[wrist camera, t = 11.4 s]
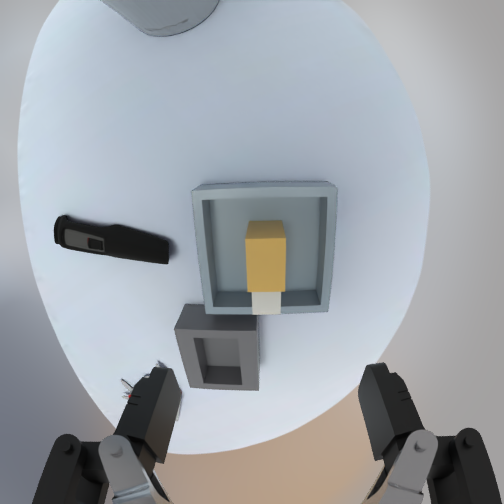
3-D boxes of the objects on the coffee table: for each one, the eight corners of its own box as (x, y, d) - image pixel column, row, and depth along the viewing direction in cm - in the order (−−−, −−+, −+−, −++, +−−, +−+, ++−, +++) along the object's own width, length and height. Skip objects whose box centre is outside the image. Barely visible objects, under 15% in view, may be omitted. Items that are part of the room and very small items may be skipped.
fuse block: (185, 304, 29) (174, 328, 25) (257, 304, 29) (256, 330, 25) (197, 362, 32) (190, 387, 28) (259, 363, 32) (258, 390, 28)
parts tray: (200, 184, 24) (191, 190, 21) (327, 181, 24) (337, 187, 20) (212, 295, 29) (205, 313, 25) (321, 293, 28) (328, 311, 25)
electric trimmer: (175, 265, 28) (166, 279, 25) (63, 241, 27) (48, 251, 24) (178, 232, 27) (168, 242, 24) (61, 212, 26) (45, 219, 23)
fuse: (251, 288, 27) (248, 220, 25) (281, 288, 27) (281, 220, 25) (248, 317, 23) (245, 238, 20) (284, 316, 23) (285, 238, 20)
